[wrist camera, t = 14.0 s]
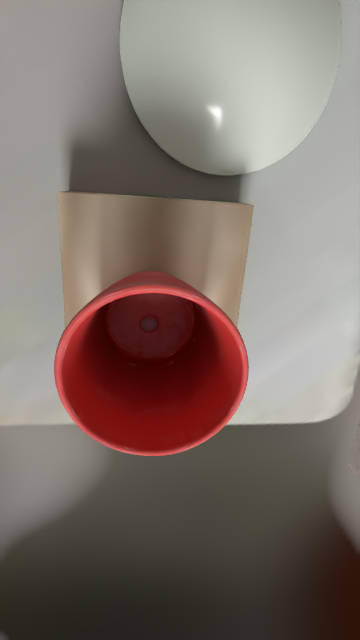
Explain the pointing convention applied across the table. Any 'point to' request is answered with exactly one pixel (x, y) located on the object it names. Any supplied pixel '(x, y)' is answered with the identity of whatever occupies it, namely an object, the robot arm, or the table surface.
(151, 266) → the stand
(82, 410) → the flower pot
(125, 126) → the table surface
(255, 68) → the pale grey round plate
